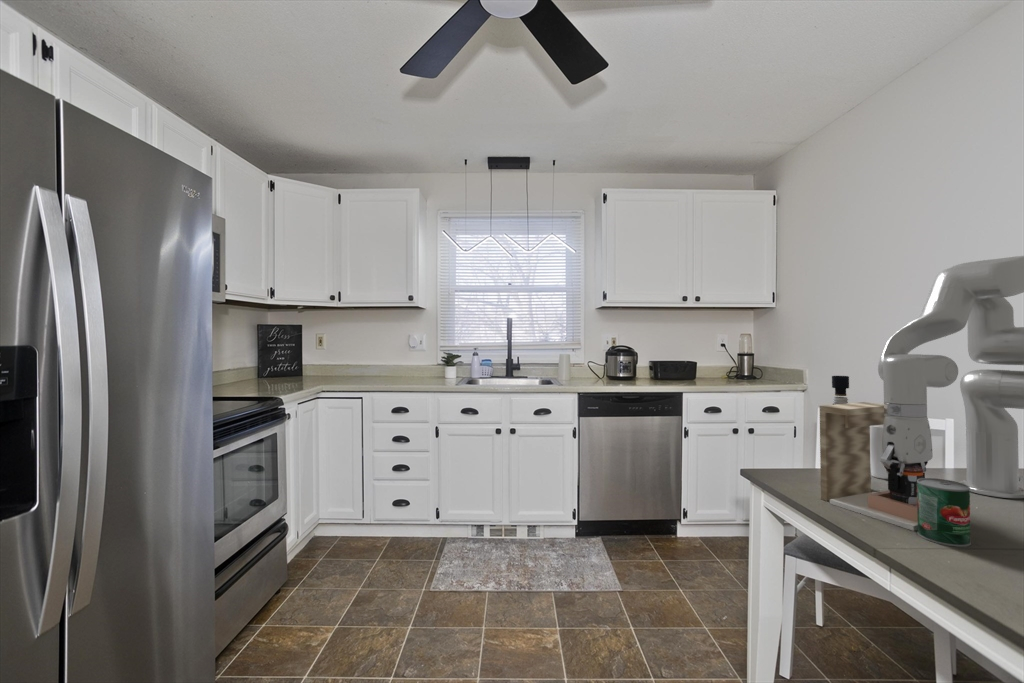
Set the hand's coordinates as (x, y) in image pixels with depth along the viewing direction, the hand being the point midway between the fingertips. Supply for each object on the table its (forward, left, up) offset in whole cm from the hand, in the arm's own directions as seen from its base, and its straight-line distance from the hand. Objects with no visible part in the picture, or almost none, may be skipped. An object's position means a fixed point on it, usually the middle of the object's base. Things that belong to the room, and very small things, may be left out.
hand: (906, 489), depth 107 cm
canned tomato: (+7, +11, -6) cm, 14 cm away
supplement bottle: (0, 0, -4) cm, 4 cm away
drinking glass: (-27, -22, -6) cm, 35 cm away
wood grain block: (-1, -11, -6) cm, 13 cm away
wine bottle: (-9, -21, -6) cm, 24 cm away
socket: (0, -3, -6) cm, 7 cm away
